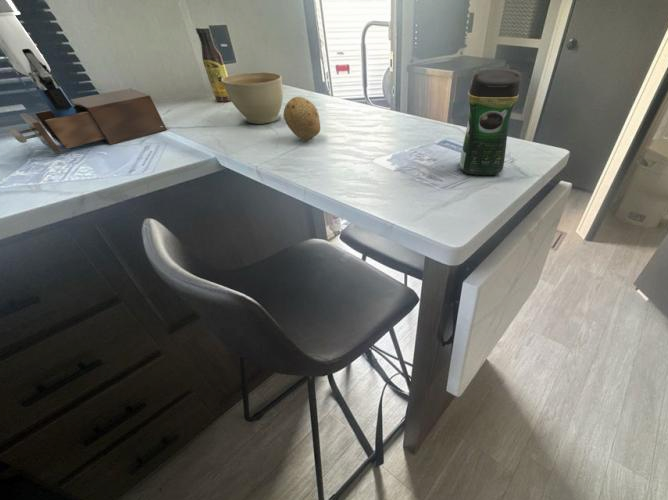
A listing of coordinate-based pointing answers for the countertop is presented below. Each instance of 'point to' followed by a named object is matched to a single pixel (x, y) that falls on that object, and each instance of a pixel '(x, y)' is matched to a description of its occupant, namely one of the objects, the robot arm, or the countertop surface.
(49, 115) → the drawer
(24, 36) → the robot arm
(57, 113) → the bottle
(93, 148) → the countertop surface
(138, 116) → the cabinet
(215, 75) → the sauce bottle
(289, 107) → the potato
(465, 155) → the coffee jar
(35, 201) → the countertop surface
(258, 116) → the planter bowl
